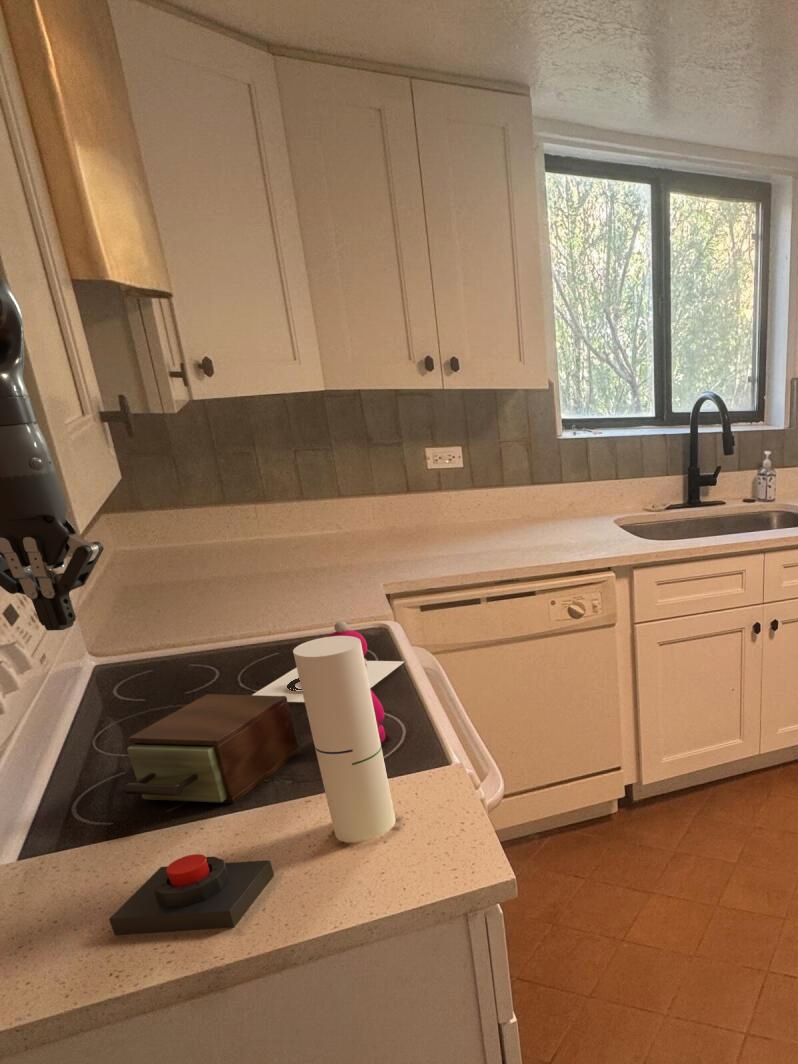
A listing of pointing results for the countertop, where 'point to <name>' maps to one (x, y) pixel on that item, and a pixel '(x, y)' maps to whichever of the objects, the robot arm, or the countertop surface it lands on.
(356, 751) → the cylindrical container
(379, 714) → the pepper mill
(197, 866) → the button
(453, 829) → the countertop surface
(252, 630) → the countertop surface
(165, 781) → the drawer
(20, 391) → the robot arm
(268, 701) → the cabinet
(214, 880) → the control block
